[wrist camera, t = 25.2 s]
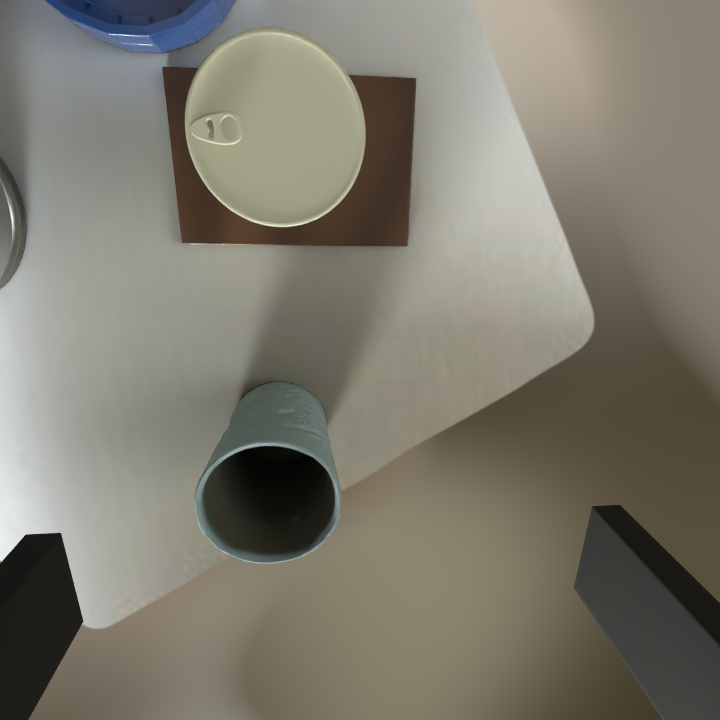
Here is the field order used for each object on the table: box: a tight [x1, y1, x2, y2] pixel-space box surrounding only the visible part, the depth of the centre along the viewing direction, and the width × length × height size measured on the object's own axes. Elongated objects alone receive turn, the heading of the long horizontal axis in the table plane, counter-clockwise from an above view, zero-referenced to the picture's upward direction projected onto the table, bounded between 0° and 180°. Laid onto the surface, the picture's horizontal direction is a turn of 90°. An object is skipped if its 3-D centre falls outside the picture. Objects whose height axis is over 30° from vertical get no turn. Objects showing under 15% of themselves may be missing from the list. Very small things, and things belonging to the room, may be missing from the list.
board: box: [162, 67, 416, 246], centre depth 34 cm, size 18×12×1 cm, turn 89°
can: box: [185, 28, 366, 227], centre depth 28 cm, size 9×9×12 cm
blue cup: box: [194, 382, 342, 564], centre depth 36 cm, size 10×10×12 cm
